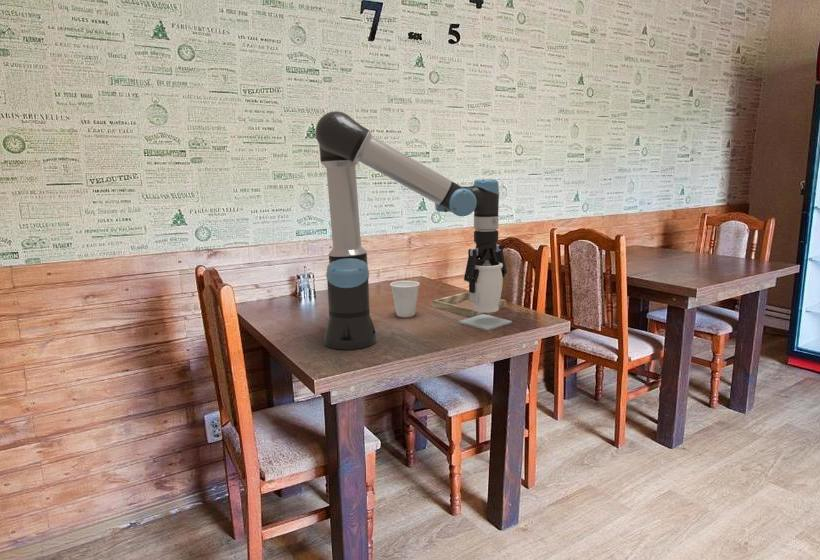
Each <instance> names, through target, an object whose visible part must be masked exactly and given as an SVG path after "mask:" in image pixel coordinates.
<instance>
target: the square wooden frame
mask: <svg viewBox="0 0 820 560" xmlns="http://www.w3.org/2000/svg"><path fill="white" fill-rule="evenodd" d="M463 300H464V301H468V300H469V301H470V292H469V291H465V292H462V293H458V294H453V295H449V296H446V297H441V298H438V299H437V298H436V299H432V304H431V305H432V306H431V307H432V308H434V309H438V310H441V311H442V310H443V311H445V312H449V313H450V312H451V313H453V314H458V315H462V316H465V317H468V318H471V317H475V316H478V315H482V314H485V313H481V312H476V311H474V310H473V307H466V306H463V305H462V306H461V305H458V304H456V303H459V301H460V302H462V301H463ZM464 301H463V302H464ZM455 302H456V303H455ZM498 307H499V310H500V309H504V308H506V307H507V300H506V299H502V298H500V301H499V303H498Z"/></svg>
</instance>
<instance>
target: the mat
mask: <svg viewBox="0 0 820 560" xmlns="http://www.w3.org/2000/svg"><path fill="white" fill-rule="evenodd" d="M458 324H462V325H465V326H469V327H472V328H476V329H480V330H483V331H488V332H489V331H492V330H494V329H498V328H500V327H504V326H506V325H510V324H513V320H508V319H505V318H502V317H497V316H493V315H489V314H486V313H484V314H480V315H477V316H473V317H468V318H464V319H461V320H458Z"/></svg>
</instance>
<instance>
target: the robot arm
mask: <svg viewBox="0 0 820 560" xmlns="http://www.w3.org/2000/svg"><path fill="white" fill-rule="evenodd" d="M315 138H316V141H317V143H318V147H319V159H320V160H319V161H320V164H322V166H324V167H325V169H326V179H327V180H326V181H327V190H328V191H327V193H328V204H329V216H330V227H331V239H332V249H331V250H330V251H329V253H328V260H329V261H328V262H329V263H328V265H327V267H326V273H325V277H326V282H327V283H326V284H327V301H328V320H327V323H326V326H325V331H324V335H323V341H324V342H323V344H324V345H325V346H326V347H328V348H330V349H334V350H358V349H364V348H368V347H370V346H373V345H374V344H375V343H376V342H377V341H378V340H377V332H376V328H375V325H374V323H373V320H372V318H371V314H370V287H369V285H370V284H369V279H370V272H369V271H370V270H369V266H368V265H369V264H368V256H367V255H368V252H367V250H366V249H365V248H364V247H363V246H362V240H361V239H362V237H361V225H360V224H361V223H360V213H359V211H360V210H359V209H360V208H359V199H358V186H357V170H356V168H357V167H356V166H357V165H358V164H359V162H360V163H361V164H364V165H366V167H369V168H371V169H372V170H374V171H376V172H378V173H380V174H381V175H384V176H385V177H388V178H389V179H390V180H393V181H395V182H397V183H398V184H400V185H402V186H404V187H405V188H407V189H410V190H411V191H412V192H415V194H418V195H420V196H422V197H424V198H425V199H427V200H429V201H431V202H433V203H434V207H435V210H436V211H437V212H438V213H439V212H440V213H447V212H448V213H452V214H454V215H455V216H457V217H467V216H469V215H471V214H472V213H473V229H474V231H473V242H474V243H475V248H469V249H468V251H467V253H468V258H467V262H466V266H465V272H464V277H463V280H464V282H468V292H470V300H469V303H472V304H474V303H476V304H477V303H478V283H477V282H476V281H477V278H478V276H479V270H478V269H475V265H477V266H482V265H483V263H485V261H489V262H490V264H491V266H495V265H498V264H499V263H498V262H500V263H502V264H503V267H502V268H501V271H502V278H504V277H506V274H507V273H508V271H507V267H506V260H505V255H504V245H503V244H497V243H498V242H499V230H497V229H499V204H500V203H499V201H500V200H499V199H500V190H499V185H500V184H499V181H498V180H497V179H493V178H479V179H474V181H473V184H472V185H469V186H461V185H460V184H458V183H456V182H453V180H451V179H449V178H447V177H445V176H443V175H442V174H440V173H438V172H436V171H435V170H433V169H431V168H430V167H428V166H426V165H424V164H423V163H421V162H419V161H417V160H415V159H413V158H412V157H410V156H408V155H407V154H404V153H403V152H402V151H399V150H397V149H396V148H394V147H392V146H391V145H388V144H387V143H385V142H383V141H382V140H380V139H378V138H376V137H375V136H373V135H372V132H371V130H370V129H368V128H366V127H365V126H363V125H362V124H360V123H358V122H357V121H356V120H355V119H353V118H352V117H351V116H350V115H348V114H347V113H345V112H343V111H337V110H336V111H333V110H332V111H329V112H326V113H325V114H324V115H322V116H321V117H320V119H319V120H318V121H317V124H316V126H315Z"/></svg>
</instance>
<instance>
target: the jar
mask: <svg viewBox="0 0 820 560" xmlns="http://www.w3.org/2000/svg"><path fill="white" fill-rule="evenodd" d="M498 263H499V264H498V265H495V266H491V264H490V262H489V260H486V261H485V263H483V265H482V266H477V265H475V269H478V270H479V276H478V278H477V281H476V282H477V283H478V303H477V304H476V303H473V306H472V308H473V310H474V311H476V312H481V313H484V314H487V313H488V314H489V313H490V314H491V313H497V312H498V311H499V310H500V309H499V307H498V303H499V301H500V299H502V298H501V297H502V291H503V285H504V284H503V282H504V280H503V278H504V277H502V271H501V268H502V267H503V264H502V263H500V262H498Z"/></svg>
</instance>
